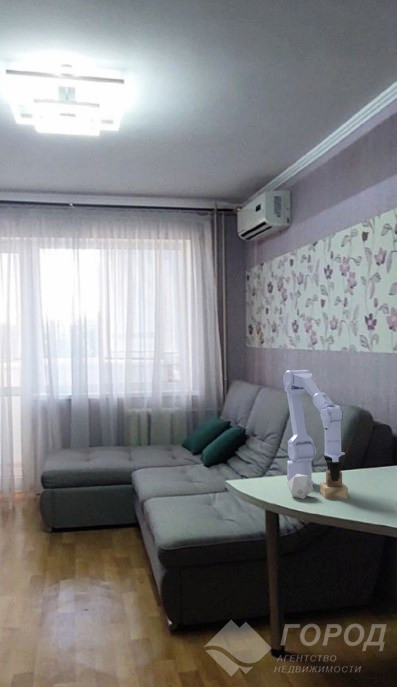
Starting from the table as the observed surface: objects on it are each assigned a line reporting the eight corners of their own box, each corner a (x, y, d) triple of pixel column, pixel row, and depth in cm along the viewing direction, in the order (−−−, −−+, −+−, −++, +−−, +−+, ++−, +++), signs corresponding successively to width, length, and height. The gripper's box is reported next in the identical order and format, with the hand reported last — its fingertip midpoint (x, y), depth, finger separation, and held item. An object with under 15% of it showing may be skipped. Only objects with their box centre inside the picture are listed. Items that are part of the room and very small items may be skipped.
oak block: (325, 499, 198) (324, 488, 198) (320, 493, 206) (320, 482, 206) (348, 499, 198) (347, 487, 198) (342, 493, 206) (342, 482, 206)
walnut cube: (327, 486, 200) (327, 472, 200) (326, 483, 205) (325, 469, 205) (342, 487, 199) (342, 472, 199) (340, 483, 204) (340, 469, 204)
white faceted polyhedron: (291, 502, 196) (308, 481, 194) (278, 486, 203) (294, 465, 201) (306, 507, 201) (322, 486, 199) (292, 490, 208) (308, 470, 206)
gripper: (347, 443, 195) (348, 483, 195) (341, 437, 209) (342, 474, 209) (326, 443, 196) (327, 483, 195) (322, 437, 210) (322, 473, 210)
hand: (333, 478), depth 202 cm, fingers open, 7 cm apart
